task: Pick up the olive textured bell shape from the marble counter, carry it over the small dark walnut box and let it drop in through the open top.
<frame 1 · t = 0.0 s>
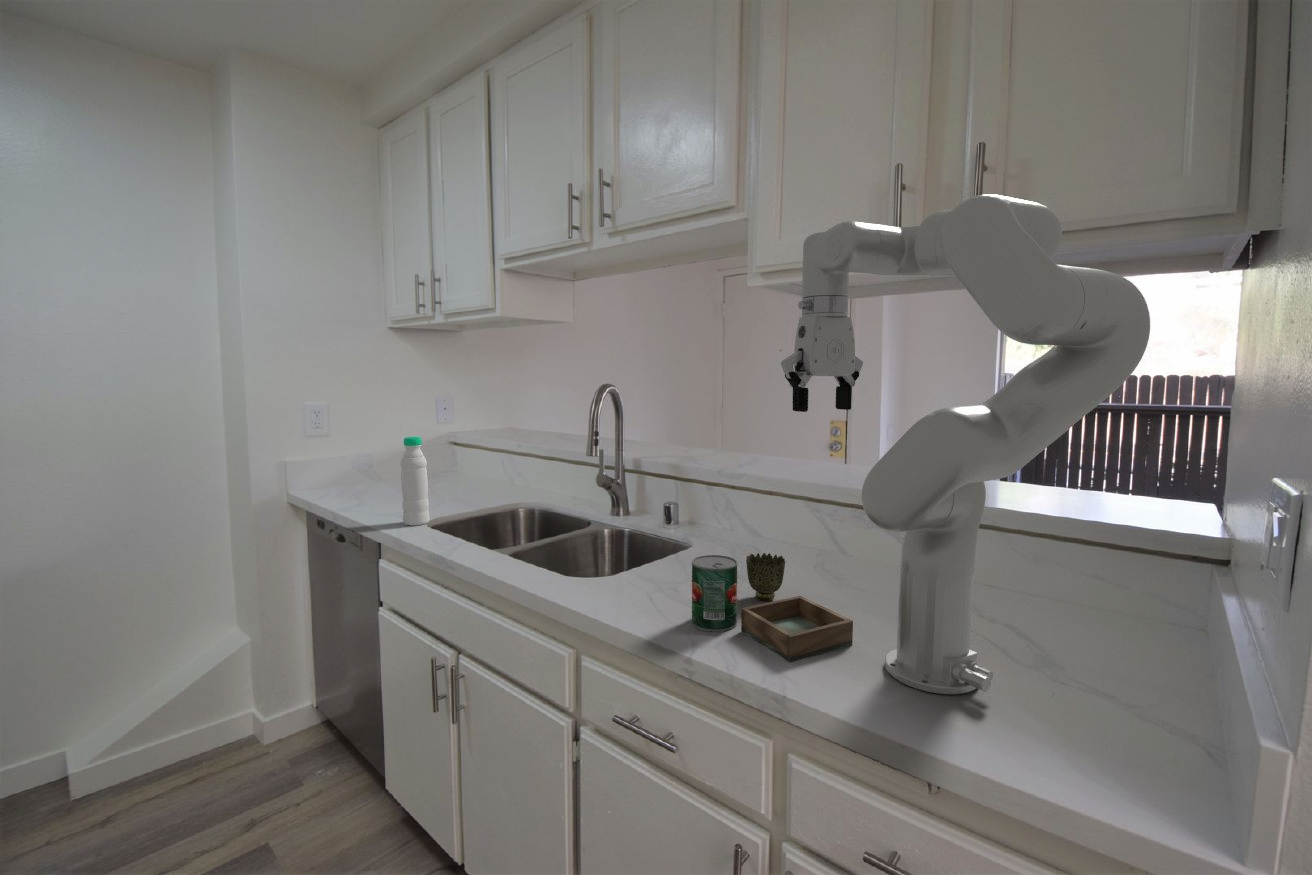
hand: (822, 410, 107), 37 cm above the worktop, tool pointing down, fingers open, 9 cm apart
olive textured bell shape: (765, 599, 119), on the worktop
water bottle: (416, 523, 179), on the worktop
walnut box: (795, 638, 102), on the worktop
canned tomato: (714, 623, 108), on the worktop
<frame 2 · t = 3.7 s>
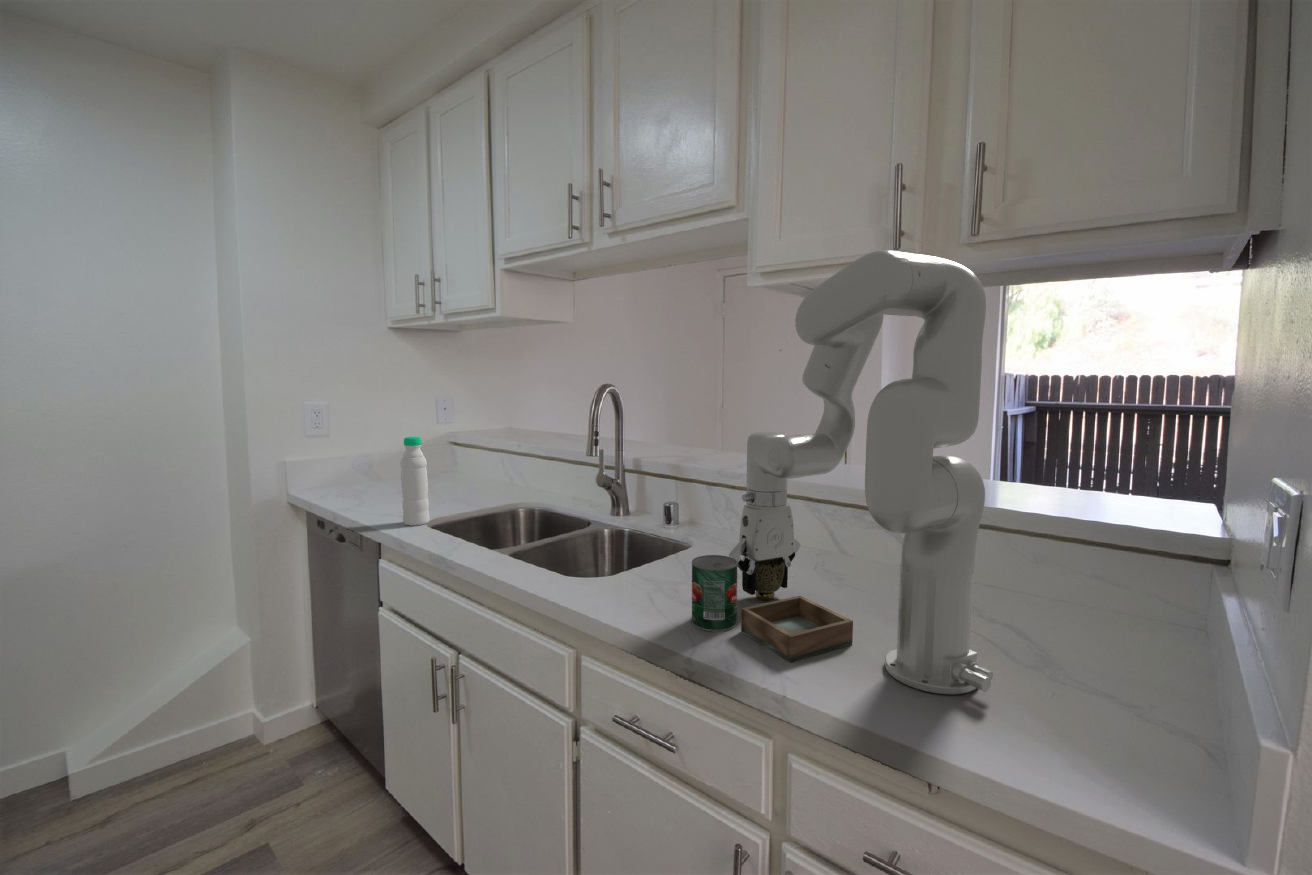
hand: (765, 588, 119), 2 cm above the worktop, tool pointing down, fingers closed on olive textured bell shape, 6 cm apart
olive textured bell shape: (765, 599, 119), on the worktop, touching gripper
everything else where it was.
when the fingers open (5 cm above the worktop, at t = 10.2 s): olive textured bell shape drops 2 cm, resting on walnut box.
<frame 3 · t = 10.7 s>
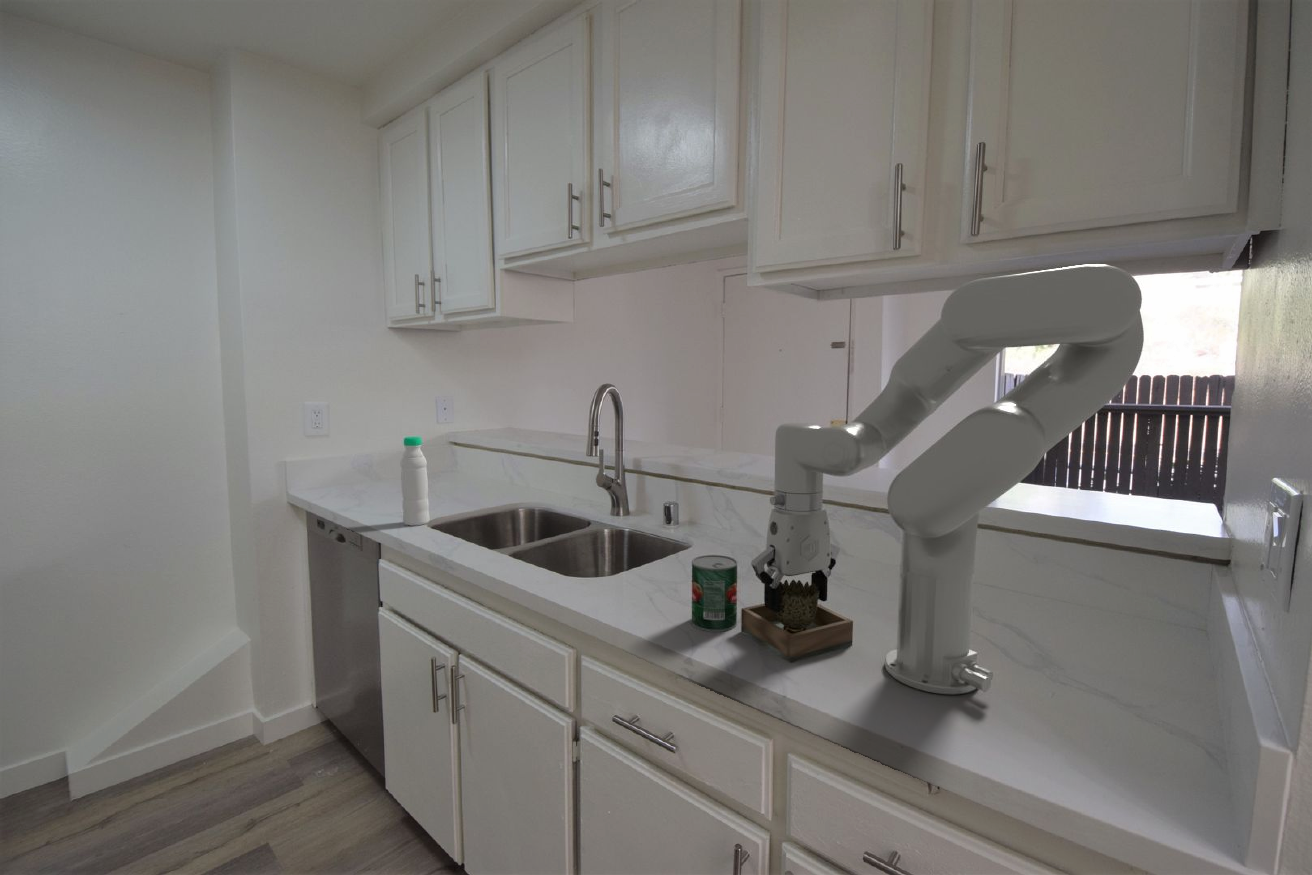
hand: (796, 603, 101), 6 cm above the worktop, tool pointing down, fingers open, 9 cm apart
olive textured bell shape: (794, 635, 101), point 1 cm above the worktop, touching walnut box
everything else where it was.
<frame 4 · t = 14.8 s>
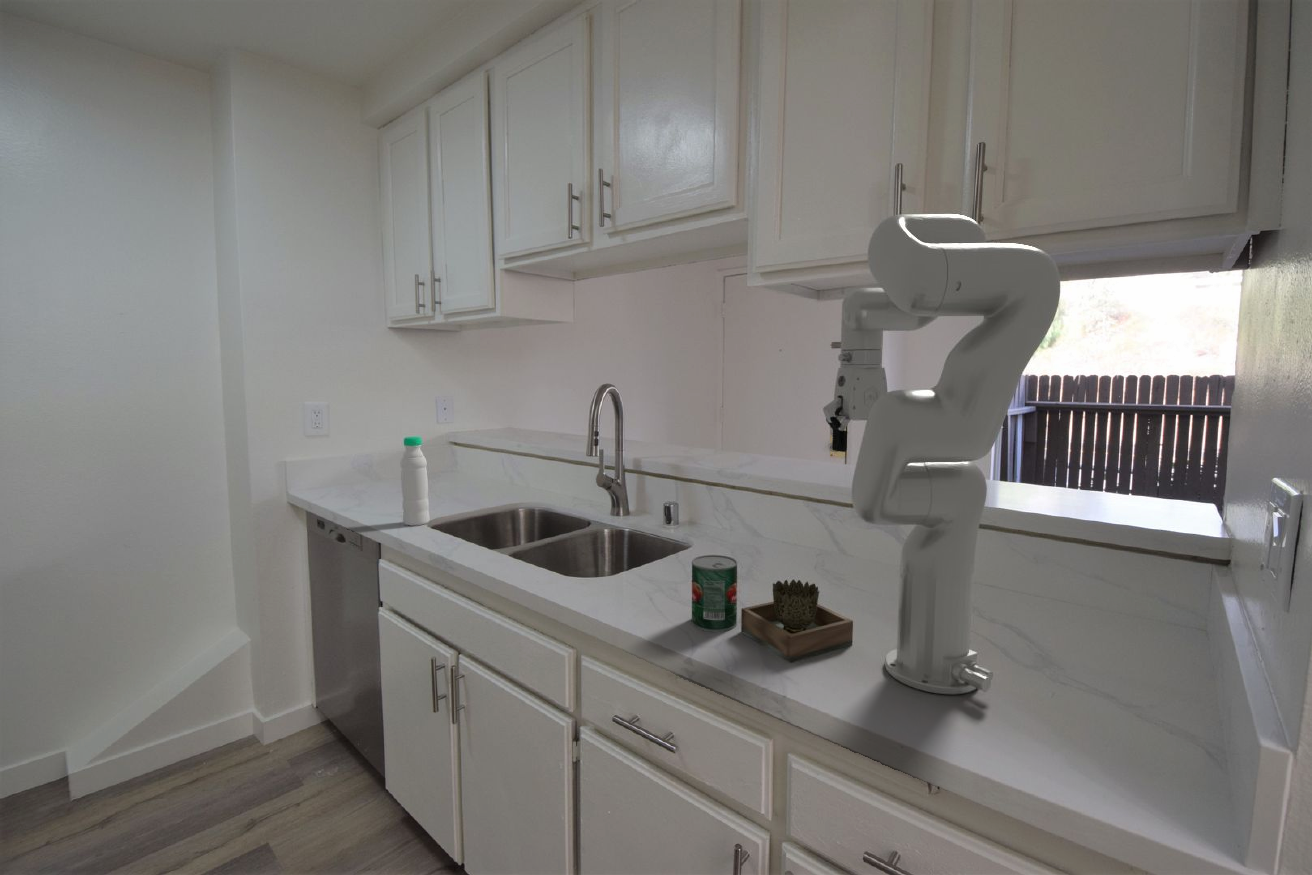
hand: (858, 449, 120), 28 cm above the worktop, tool pointing down, fingers open, 9 cm apart
nothing on the worktop moved.
at the end: olive textured bell shape inside the target area on the walnut box (0.4 cm from its centre), point 0.6 cm above the walnut box's base; the gripper is holding nothing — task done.
